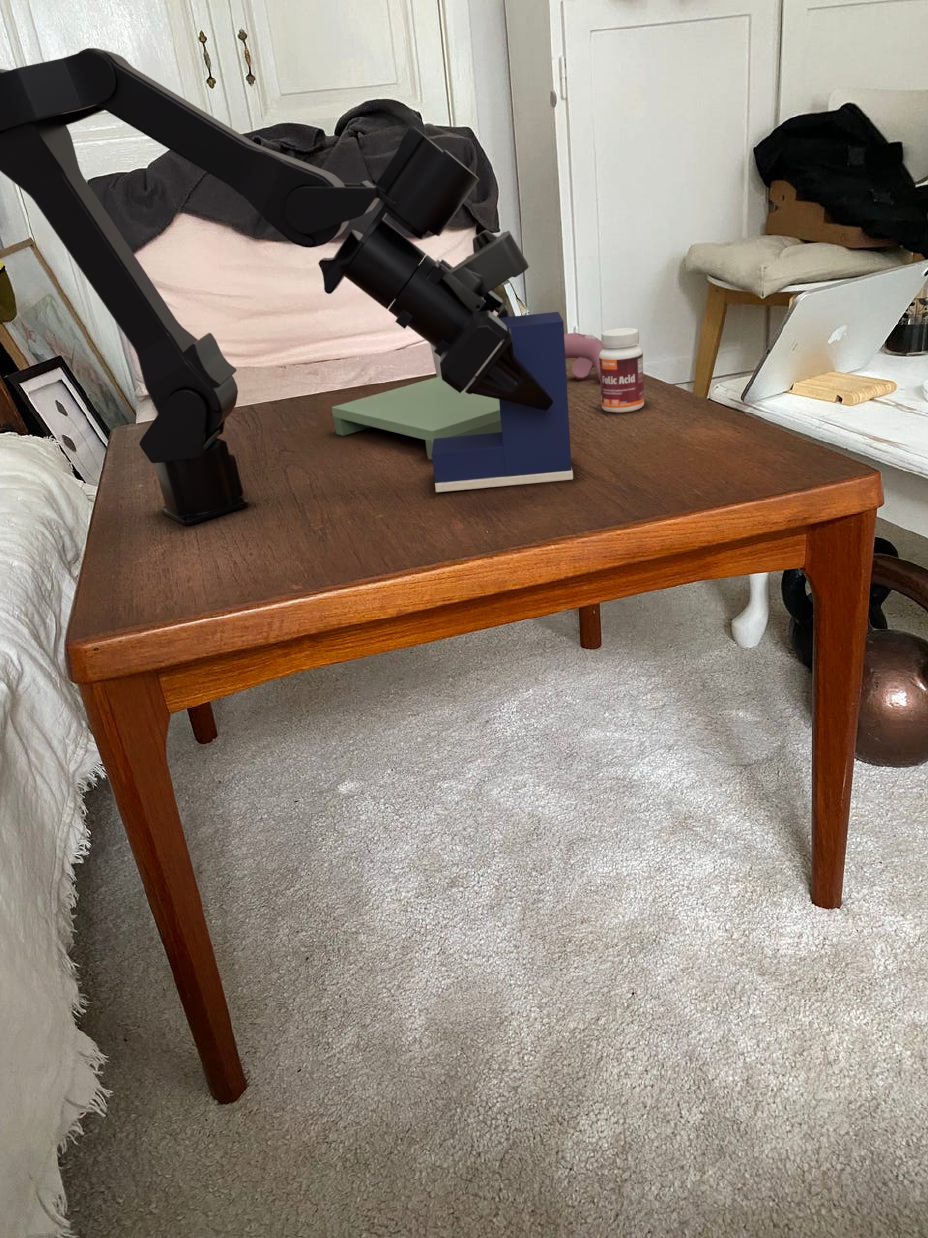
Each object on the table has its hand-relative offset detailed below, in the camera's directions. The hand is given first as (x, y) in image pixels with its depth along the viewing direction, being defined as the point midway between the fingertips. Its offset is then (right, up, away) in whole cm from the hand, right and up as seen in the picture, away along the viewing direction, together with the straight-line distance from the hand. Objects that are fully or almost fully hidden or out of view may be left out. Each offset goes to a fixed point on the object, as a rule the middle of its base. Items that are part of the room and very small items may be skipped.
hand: (546, 393), depth 86 cm
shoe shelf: (-10, +1, +22) cm, 24 cm away
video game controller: (+6, +10, +35) cm, 37 cm away
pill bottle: (+10, +3, +21) cm, 23 cm away
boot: (-4, -7, +4) cm, 9 cm away
